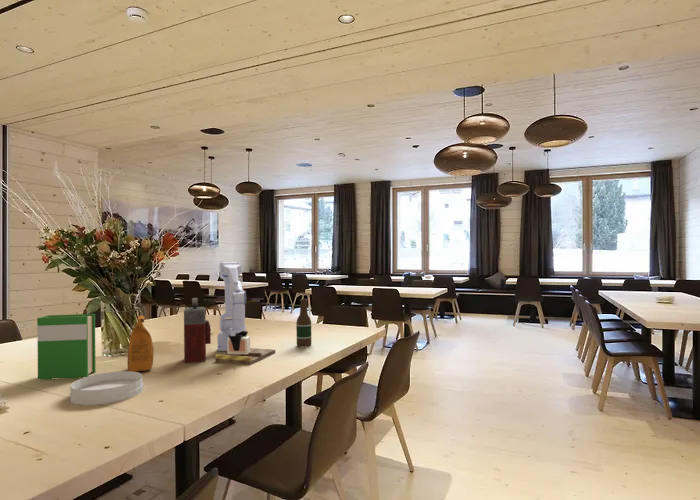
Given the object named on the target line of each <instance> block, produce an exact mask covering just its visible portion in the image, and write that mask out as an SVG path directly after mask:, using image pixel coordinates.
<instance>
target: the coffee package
mask: <svg viewBox="0 0 700 500" xmlns="http://www.w3.org/2000/svg"><path fill="white" fill-rule="evenodd" d="M145 318H146V317H145V316H144V315H140V316H138V317H136V319H137V322H136V325H135V327H134V328H133V329H132V331H131V334H130V339H129V342H128V347H127V349H128V350H127V371H131V372H138V373H141V372H144V371H146V372H147V371H149V370H152V368H153V365H154V354H155V353H154V345H153V343H154V342H153V338H152V336H151V334H150V332H149V331H148V329H147V328H146V327H145V326H144V323H145Z"/></svg>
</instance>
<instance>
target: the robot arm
mask: <svg viewBox="0 0 700 500" xmlns="http://www.w3.org/2000/svg"><path fill="white" fill-rule="evenodd" d="M241 272H242V264H241V262H240V261H220V262H219V277H220V278H219V279H221V280H223V282H224V303H225V304H224V305H225V306H224V307H225V309H224V311H225V312H223V313H222V314H221V315H220V317H219V331H220V332H219V333H218V334H217V342H216V343H217V349H216V352H217V351H219V352H220V351H221V352H226V351H227V338H230V340H231V342H232V345H233V349H234V351H239V347H240V340H241V337H242V336H247V335H248V334H249V331H248V330H247V326H246V304H247V294H246V291H245V290H244V288H243V285H242V282H241V281H240V280H239V277H240V275H241Z"/></svg>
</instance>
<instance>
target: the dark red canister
mask: <svg viewBox="0 0 700 500" xmlns="http://www.w3.org/2000/svg"><path fill="white" fill-rule="evenodd" d="M191 302H192V303H191V307H185V309H184V311H183V351H184V352H183V355H184V357H183V358H184V359H183V361H184V362H183V363H184V364H190V363H201V362H202V363H204V362H206V361H207V353H206V352H207V349H206V348H207V345H210V344H211V343H212V341H211V340H212V339H211V331H212V329H211V324H210V322H209V320H208V319H206V307H204V306H199V305H198V297H193V298H191Z"/></svg>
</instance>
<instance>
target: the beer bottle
mask: <svg viewBox="0 0 700 500" xmlns="http://www.w3.org/2000/svg"><path fill="white" fill-rule="evenodd" d="M299 302H300V308H299V309H300V310H299V316H298V317H297V320H296V326H295V327H296V329H295V330H296V347H299V348H307V347H311V346H312V319H311V317H310V315H309V312H308V299H307V298H301V299H300V300H299Z"/></svg>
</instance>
